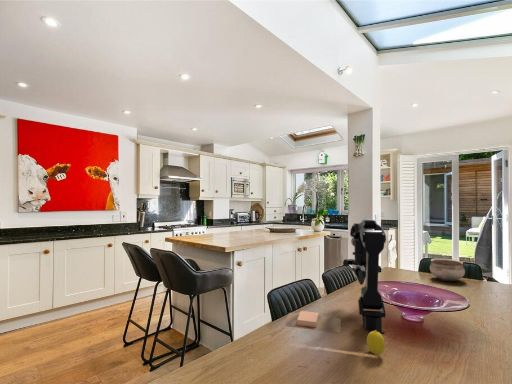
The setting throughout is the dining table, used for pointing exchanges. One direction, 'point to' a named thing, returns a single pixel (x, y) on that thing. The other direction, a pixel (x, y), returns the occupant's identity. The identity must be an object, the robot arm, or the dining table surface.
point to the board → (322, 323)
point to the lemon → (375, 343)
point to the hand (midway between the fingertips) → (361, 284)
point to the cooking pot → (447, 269)
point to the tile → (307, 319)
